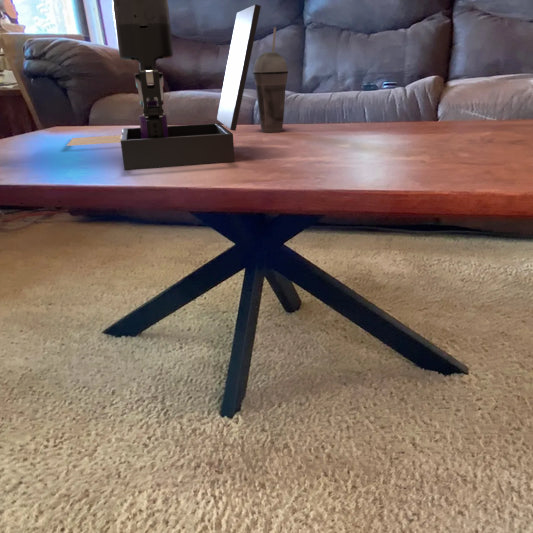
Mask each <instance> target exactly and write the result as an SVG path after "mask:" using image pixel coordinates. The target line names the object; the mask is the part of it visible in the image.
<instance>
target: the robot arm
mask: <svg viewBox="0 0 533 533" xmlns="http://www.w3.org/2000/svg"><path fill="white" fill-rule="evenodd" d="M168 1H169V0H112V3H111V4H112V13H113V21H114V28H115V34H116V43H117V50H118V51H117V52H118V57H119V58H120V59H121V60H123V61H132V60H133V61H137V62H138V65H139V67H138V69H139V70H137V71H138V73H134V74H133V75H134V82H135V87H136V88H137V91H138V92H137V93H138V100H139V105H140V106H141V107H143V108H142V112H143V115H144V117H145V120H146V123H147V131H148V138H163V137H164V133H163V123H162V119H163V116H164V115H163V114H165V112H164V108H163V106H164V104H165V95H164V94H165V93H164V83H165V82H164V74H163V72H160V71H159V69H158V68H157V61H158V60H163V59H172V57H173V55H174V52H173V50H174V49H173V42H172V41H173V39H172V29H171V21H170V19H171V18H170V10H169V2H168Z"/></svg>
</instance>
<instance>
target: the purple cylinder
mask: <svg viewBox="0 0 533 533" xmlns="http://www.w3.org/2000/svg"><path fill="white" fill-rule="evenodd" d="M163 115H164V116H163V119H162V123H163V133H164V137H169V136H168V126H169V125H168V117H167V113H163ZM138 121H139V128H140V129H141V137H142V139H147V138H148V131H147V123H146V120H145V117H144V114H140V115H138Z"/></svg>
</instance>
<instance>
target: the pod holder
mask: <svg viewBox="0 0 533 533" xmlns="http://www.w3.org/2000/svg"><path fill="white" fill-rule="evenodd" d="M167 126H168V136H169V137H163V138H147V139H142V137H141V129H140V127H124V128H122V130H121V135H122V136H121V142H120V147H121V154H122V162H123V169H124V171H135V170H148V169H162V168H163V169H164V168H176V167H187V166H188V167H189V166H200V165H216V164H226V163H227V164H228V163H235V146H234V145H235V144H234V134H233V133H232V132H231V130H229V129H228V128H227V127H226V126H224V125H223V124H222V123H221V122H213V123H197V124H196V123H195V124H179V125H176V124H175V125H167Z"/></svg>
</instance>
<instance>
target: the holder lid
mask: <svg viewBox="0 0 533 533" xmlns="http://www.w3.org/2000/svg"><path fill="white" fill-rule="evenodd" d="M261 7H262V6H261V5H260V4H256V3H255V4H253V5H251V6H248V7H247V8H244V9H242V10H240V11H238V12H237V11H236V16H235V21H234V27H233V31H232V36H231V42H230V47H229V52H228V58H227V63H226V68H225V74H224V77H223V78H224V79H223V85H222V90H221V95H220V100H219V104H218V110H217V116H216V120H217V121H218V123H220V124H221V125H222V126H224V127H225V128H226V129H228V130H229V131H234V132H236V130H237V126H238V120H239V116H240V112H241V106H242V101H243V96H244V92H245V86H246V82H247V77H248V72H249V68H250V62H251V57H252V52H253V48H254V42H255V38H256V32H257V28H258V23H259V18H260V12H261V9H262V8H261Z"/></svg>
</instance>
